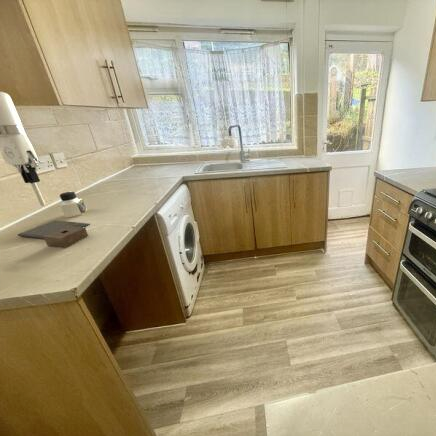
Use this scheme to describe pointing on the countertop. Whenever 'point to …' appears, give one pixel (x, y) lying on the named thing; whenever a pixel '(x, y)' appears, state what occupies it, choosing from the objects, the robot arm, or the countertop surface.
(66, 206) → the medicine bottle
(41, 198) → the stylus
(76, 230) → the pen stand
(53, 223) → the plate
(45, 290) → the countertop surface
